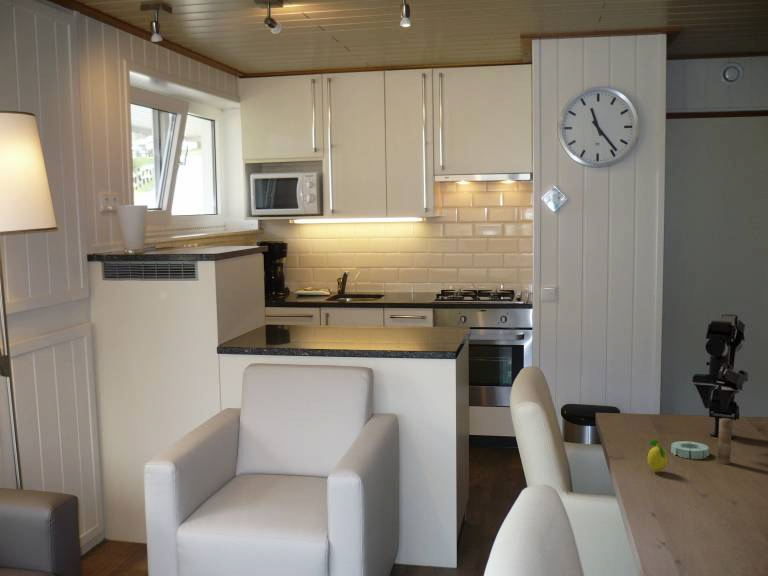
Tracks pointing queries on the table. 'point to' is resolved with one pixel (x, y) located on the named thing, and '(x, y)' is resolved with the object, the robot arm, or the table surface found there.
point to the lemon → (657, 456)
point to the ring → (690, 449)
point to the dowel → (724, 440)
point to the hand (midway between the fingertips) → (715, 410)
